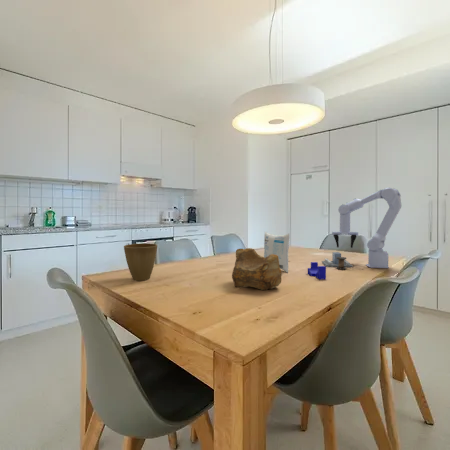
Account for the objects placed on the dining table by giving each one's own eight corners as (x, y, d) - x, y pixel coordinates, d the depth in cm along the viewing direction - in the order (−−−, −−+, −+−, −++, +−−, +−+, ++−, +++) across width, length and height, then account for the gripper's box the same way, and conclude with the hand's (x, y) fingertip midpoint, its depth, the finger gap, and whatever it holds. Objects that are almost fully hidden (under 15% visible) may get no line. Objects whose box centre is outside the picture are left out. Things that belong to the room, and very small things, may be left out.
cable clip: (307, 274, 140) (307, 262, 140) (316, 274, 140) (316, 262, 140) (316, 279, 128) (316, 266, 128) (325, 279, 128) (325, 266, 128)
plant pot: (118, 279, 130) (117, 245, 129) (146, 274, 141) (146, 242, 140) (135, 285, 120) (134, 248, 119) (164, 279, 131) (163, 244, 130)
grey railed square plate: (346, 262, 168) (346, 258, 168) (352, 267, 155) (352, 263, 154) (321, 262, 171) (321, 258, 170) (326, 266, 157) (326, 262, 157)
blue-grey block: (338, 262, 165) (338, 252, 165) (341, 264, 159) (341, 253, 159) (332, 262, 166) (332, 252, 165) (334, 264, 160) (334, 253, 159)
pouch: (281, 273, 140) (281, 234, 139) (259, 267, 157) (259, 231, 156) (293, 272, 144) (293, 233, 143) (271, 265, 161) (271, 231, 160)
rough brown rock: (217, 285, 121) (215, 252, 119) (245, 276, 131) (243, 245, 130) (257, 300, 103) (255, 260, 101) (285, 288, 114) (284, 252, 112)
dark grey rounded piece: (344, 267, 154) (345, 257, 154) (347, 269, 149) (347, 258, 149) (335, 267, 155) (335, 256, 154) (337, 269, 150) (337, 258, 149)
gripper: (332, 225, 165) (332, 247, 166) (359, 225, 162) (359, 248, 162) (331, 224, 172) (331, 246, 173) (357, 224, 169) (356, 247, 169)
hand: (344, 247), depth 168 cm, fingers open, 7 cm apart
